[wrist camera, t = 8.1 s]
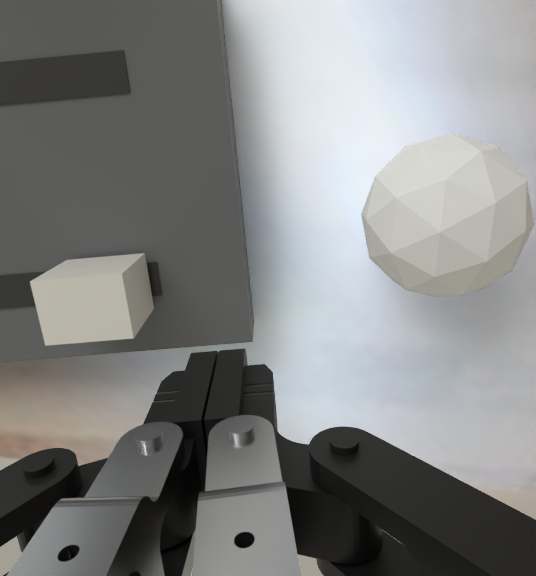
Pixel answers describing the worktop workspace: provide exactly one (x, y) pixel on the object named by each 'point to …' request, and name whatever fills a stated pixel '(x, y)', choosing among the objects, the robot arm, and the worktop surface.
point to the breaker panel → (121, 165)
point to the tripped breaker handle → (93, 299)
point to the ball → (447, 216)
